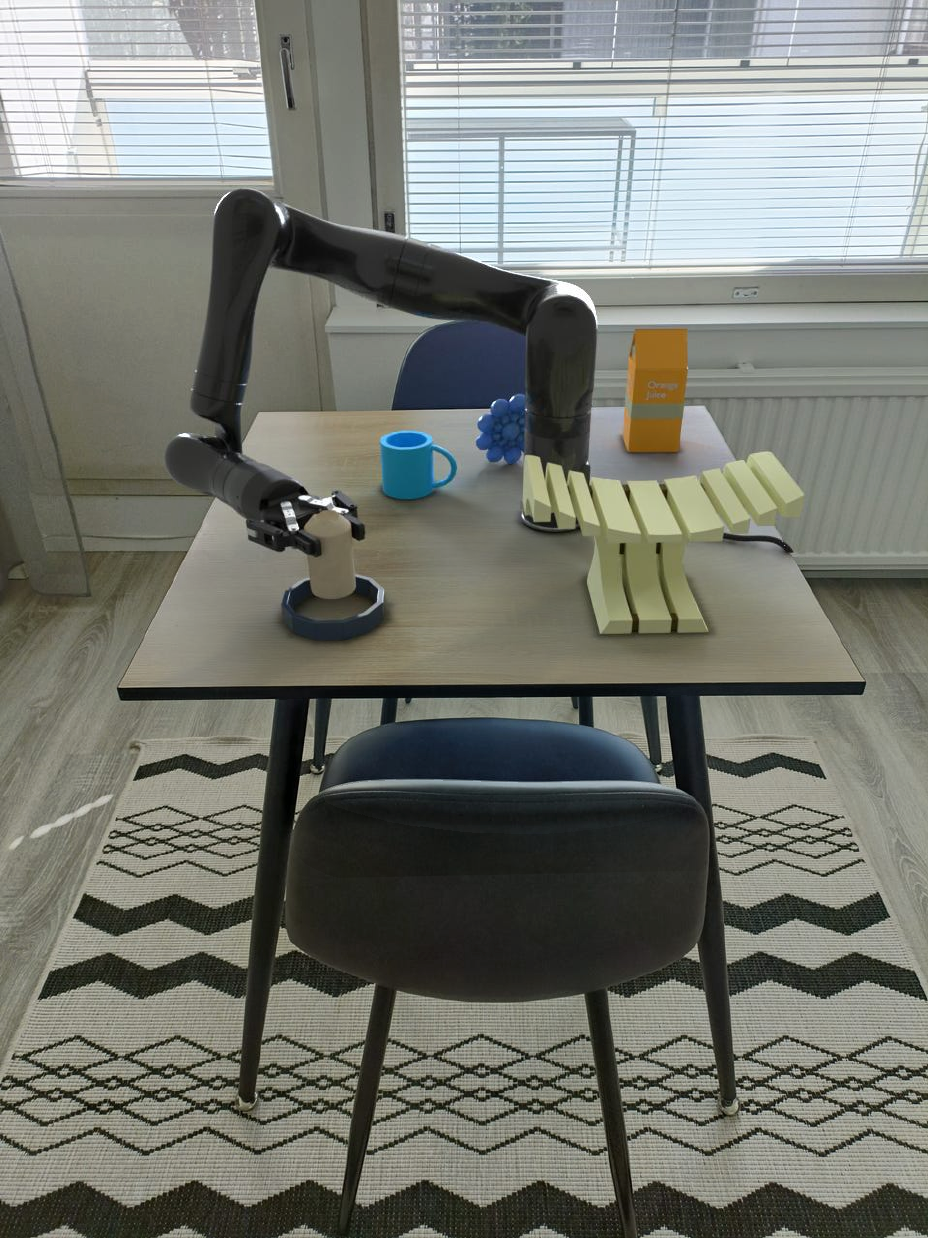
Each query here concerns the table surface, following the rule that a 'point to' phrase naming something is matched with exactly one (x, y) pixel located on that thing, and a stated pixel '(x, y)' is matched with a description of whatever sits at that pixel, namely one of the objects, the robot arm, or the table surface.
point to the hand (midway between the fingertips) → (340, 540)
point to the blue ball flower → (503, 430)
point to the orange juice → (655, 390)
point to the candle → (331, 556)
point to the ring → (333, 627)
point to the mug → (411, 464)
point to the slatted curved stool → (656, 531)
